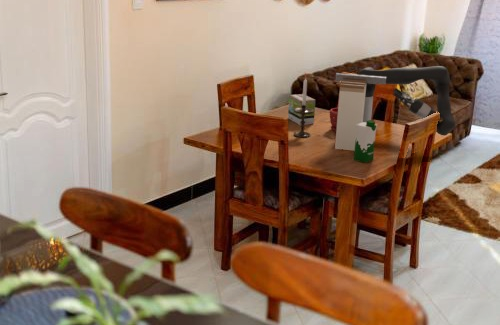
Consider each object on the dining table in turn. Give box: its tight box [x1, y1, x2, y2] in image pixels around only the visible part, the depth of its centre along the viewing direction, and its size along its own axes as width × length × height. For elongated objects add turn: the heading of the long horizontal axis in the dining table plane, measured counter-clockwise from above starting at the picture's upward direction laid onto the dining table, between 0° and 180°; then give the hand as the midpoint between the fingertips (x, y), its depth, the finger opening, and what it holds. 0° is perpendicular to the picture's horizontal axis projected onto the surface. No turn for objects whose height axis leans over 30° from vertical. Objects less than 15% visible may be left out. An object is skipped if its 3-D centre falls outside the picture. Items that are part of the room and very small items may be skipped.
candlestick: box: [293, 72, 314, 139], centre depth 366 cm, size 11×11×35 cm
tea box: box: [287, 93, 316, 126], centre depth 398 cm, size 15×10×15 cm
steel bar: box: [334, 72, 386, 86], centre depth 355 cm, size 26×4×4 cm, turn 78°
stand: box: [334, 79, 366, 151], centre depth 355 cm, size 12×24×34 cm, turn 168°
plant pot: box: [329, 107, 338, 132], centre depth 383 cm, size 13×13×12 cm
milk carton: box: [353, 119, 378, 164], centre depth 332 cm, size 9×9×20 cm
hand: (394, 91), depth 354 cm, fingers open, 8 cm apart
